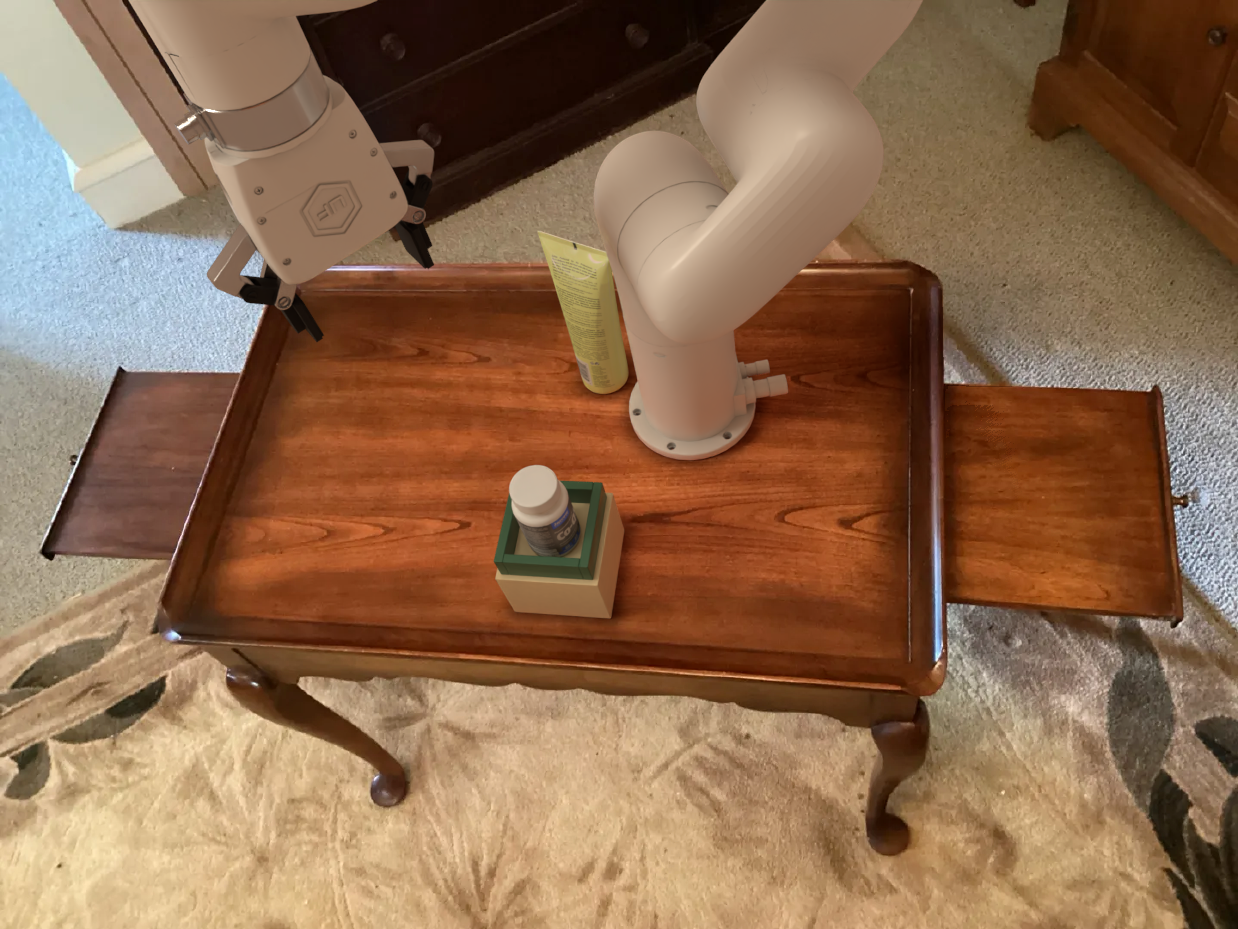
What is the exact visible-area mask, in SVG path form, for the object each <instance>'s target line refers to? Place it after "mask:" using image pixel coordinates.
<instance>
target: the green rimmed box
mask: <svg viewBox="0 0 1238 929" xmlns="http://www.w3.org/2000/svg"><path fill="white" fill-rule="evenodd" d="M558 480H559V481H560V482H561V483H562V484H563V485H564V486H565V488H566V490H567V492H568V494H569V497H570V500H571V503H572V505H573V508H574V511H575V514H576V516H577V519H578V521H579V524H580V528H581V534H580V538H579V541H578V543H577V544H576V546H575V547H574V549H573V550H571V551H570V552H569V553H567V554H566V555H564V556H561V557H548V556H540V555H538V554H536V553H535V552H534V551H533V550H532V549H531V547H530V546H529V544H528V542H527V540H526V538H525V536H524V534H523V532H522V530H521V528H520V526H519V524H518V522H517V520H516V518H515V516H514V514H513V510H512V499H511V496H510V493H509V492H508V496H507V501H506V503H505V510H504V514H503V518H502V523H501V527H500V531H499V536H498V540H497V545H496V549H495V553H494V557H493V564H494V565H495V567H496V574H495V578H494V579H495V581H496V583H497V585H498V586H499V589H500V590H501V591H502V593H503V594H504V596H505V598H506V599H507V601H508V603H509V605H510V606H511V608H512V609H513V611H514V613H526V614H527V613H528V614H540V615H552V616H553V615H554V616H569V617H584V618H598V619H612V615H613V609H614V602H615V594H616V590H617V589H616V588H617V583H618V582H617V581H618V576H619V569H620V563H621V556H622V549H623V543H624V536H625V527H624V524H623V521H622V518H621V515H620V511H619V508H618V505H617V502H616V498H615V496H614V493H613V492H606V490H605V486H604V484H603V482H600V481H583V480H582V481H580V480H560V479H558Z"/></svg>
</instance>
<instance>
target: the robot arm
mask: <svg viewBox="0 0 1238 929" xmlns="http://www.w3.org/2000/svg"><path fill="white" fill-rule="evenodd" d="M377 1H378V0H128V2H129V4H130V5H131V7H132V9H133V10H134V12H135V14H136V16H137V17H138V19H139V20H140V22H141V23H142V25H143V27H144V28H145V30H146V32H147V33H148V36H150V38H151V40H152V42H153V43H154V45H155V46H156V48H157V49H158V51H159V53H160V55H161V56H162V58H163V60H164V61H165V63H166V65H167V66H168V67H169V69H170V71H171V72H172V75H173V76H174V78H175V79H176V81H177V82H178V85H179V86H180V87H181V90H182V92H184V93H183V97H184V98H185V99H186V101H187V103H188V105H186V109H187V110H188V112H185V113H184V114H183V117H182V118H181V119H179V120H177V121H175V122H174V123H173V125H174V127H175V129H176V131H177V132H178V133H179V135H180V136H181V137H182V139H183V140H184V142H185V143H186V144H187V145H191V144H192V143H194V142H197V141H198V140H200V141H203V140H204V147H205V149H206V153H207V156H208V158H209V161H210V164H211V168H212V169H213V172H214V174H215V177H216V179H217V181H218V184H219V186H220V188H221V190H222V192H223V194H224V196H225V198H226V200H227V201H228V204H229V206H230V208H231V210H232V212H233V214H234V215H235V218H236V219H237V222H238V223H239V224H238V226H237V228H236V229H235V230H234V232H233V233H232V234H231V236H230V237H229V239H228V241H227V242H226V243H225V245H224V246H223V248H222V249H221V251H220V252H219V254H218V255H217V257H216V258H215V260H214V261H213V263H212V264H211V265H210V267H209V268H208V270H207V272H206V278H207V279H208V281H209V282H210V283H211V284H212V285H213V287H214V288H215V289H217V290H219V291H221V292H223V293H226V294H228V295H230V296H232V297H235V298H239V299H241V300H243V301H244V302H245V303H247V304H252V305H253V304H254V305H263V306H265V305H266V306H275V307H276V309H278V310H279V311H281V313H282V315H283V316H284V317H285V319H286V321H287V322H288V323H289V325H290V326H291V327H292V329H293V330H294V332H296V333H297V334H298V335H299V334H300V333H302V332H303V331H306V332H307V333H308V334H309V335H310V336H311V338H312V339H313V340H314V341H315V342H316V343H319V342H320V341H321V340H323V339H324V338H323V337H325V334H324V333H323V331H322V329H321V328H320V326H319V324H318V323H317V321H316V319H315V318H314V316H313V315H312V313H311V312H310V310H309V308H308V306H307V305H306V304H305V302H304V301H303V299H302V298H301V297H300V296H299V295H298V294H297V292H296V291H297V288H298V285H300V284H304V283H306V282H309V281H311V280H312V279H314V278H316V277H318V276H320V275H321V274H323V273H324V272H325V271H327V270H329V269H330V268H332V267H334V266H335V265H337V264H338V263H340V262H341V261H343V260H345V259H346V258H348V257H349V256H351V255H353V254H354V253H355V252H357V251H359V250H360V249H362V248H363V247H365V246H366V245H368V244H370V243H372V242H373V241H374V240H375V239H378V238H379V237H381V236H382V235H384V234H386V232H388V231H389V230H391V229H392V228H395V230H396V232H397V234H398V237H399V238H400V240H401V243H402V245H403V247H404V250H405V251H406V252H407V253H408V254H409V256H411V257H412V258H413V259H414V260H415V261H416V262H417V263H418V264H419V265H420V266H421V267H422V268H423V269H425V270H426V269H428V270H429V269H431V268H433V267H434V266H435V263H434V260H433V258H432V256H431V253H430V251H429V249H430V248H432V247H433V243H432V241H431V238H430V236H429V233H428V231H427V228H426V226H425V224H424V221H425V219H426V217H427V214H426V211H425V209H424V208H425V206H426V204H427V200H428V198H429V196H430V194H431V190H432V188H433V183H434V182H433V180H432V179H431V175H432V174H433V168H434V159H435V150H434V148H433V147H431V145H429V144H428V143H427V142H426V141H424V140H423V139H414V140H402V141H391V142H390V141H389V142H379V141H378V140H377V138H376V136H375V134H374V132H373V131H372V129H371V126H369V123H368V122H367V121H366V119H365V117H364V115H363V114H362V112H361V111H360V109H359V108H358V106H357V105H356V103H355V101H354V100H353V99H352V97H351V96H350V95H349V93H348V92H347V91H346V89H345V88H344V87H343V86H342V85H341V84H340V83H339V82H337V81H335V80H333V79H332V78H330V77H328V76H327V75H324V74H323V73H322V70H321V68H320V66H319V64H318V62H317V60H316V57H315V55H314V53H313V51H312V49H311V47H310V44H309V42H308V40H307V38H306V36H305V33H304V31H303V29H302V27H301V25H300V22H299V20H298V17H299V16H308V15H318V14H327V13H335V12H342V11H348V10H354V9H359V8H362V7H365V6H367V5H370V4H372V3H374V2H377ZM923 2H924V0H765V1H764V2H763V3H762V4H761V5H760V6H759V8H758V9H757V10H756V11H755V13H754V14H753V15H752V16H751V17H750V18H749V20H748V21H747V22H746V23H745V24H744V25H743V27H742V28H741V29H740V30H739V31H738V32H737V33H736V34H735V35H734V36H733V38H732V39H731V40H730V42H729V43H727V45H726V46H725V47H724V49H722V51H721V52H720V53H719V54H718V55H717V57H716V58H715V59H714V61H713V62H712V63H711V64H710V66H709V67H708V69H707V70H706V71H705V73H704V75H703V76H702V78H701V80H700V82H699V85H698V87H697V91H696V96H695V102H696V103H695V107H696V111H697V116H698V119H699V121H700V124H701V127H702V128H703V130H704V132H705V134H706V135H707V137H708V139H709V140H710V142H711V144H712V146H713V147H714V149H715V150H716V152H717V153H718V155H719V157H720V158H721V160H722V161H723V163H724V164H725V166H726V168H727V169H728V171H729V172H730V174H731V175H732V177H733V179H734V181H735V182H736V184H735V185H734V187H733V188H732V189H731V191H730V192H729V191H728V190H727V188H726V187H725V185H724V183H723V182H722V180H721V179H720V177H719V175H718V173H717V172H716V171H715V170H714V168H713V166H712V164H710V162H709V161H708V160H707V159H706V158H707V157H705V155H703V153H702V152H701V151H700V150H699V149H698V148H696V147H695V145H693V144H692V143H691V142H689V140H687V139H685V138H684V137H682V136H679V135H677V134H675V133H672V132H668V131H663V130H647V131H641V132H638V133H634V134H632V135H630V136H628V137H626V138H624V139H623V140H621V141H620V142H619V143H618V144H616V145H615V146H614V147H613V148H612V149H611V150H610V151H609V152H608V153H607V154H606V156H605V158H604V159H603V160H602V163H601V165H600V166H599V168H598V171H597V174H596V177H595V182H594V185H593V186H594V187H593V196H592V197H593V211H594V216H595V220H596V224H597V225H596V226H597V228H598V231H599V234H600V238H601V241H602V244H603V247H604V251H606V253H607V256H608V259H609V263H610V266H611V269H612V275H613V280H614V283H615V287H616V291H617V294H618V299H619V303H620V308H621V312H622V317H623V322H624V326H625V330H626V335H627V340H628V344H629V349H630V353H631V357H632V362H633V366H634V370H635V375H636V379H637V381H636V382H635V385H634V387H633V388H632V390H631V393H630V397H629V401H628V413H629V419H630V424H631V426H632V429H633V431H634V433H635V434H636V436H637V437H638V439H639V440H640V442H642V443H643V444H644V445H645V447H647V448H648V449H650V450H652V451H653V452H654V453H657V454H658V455H661V456H664V457H666V458H669V459H674V460H684V461H694V460H696V461H697V460H703V459H708V458H710V457H711V458H712V457H715V456H718V455H719V454H721V453H723V452H726V451H727V450H729V449H731V448H732V447H734V446H735V445H736V444H737V443H738V442H739V441H740V440H741V439H743V437H744V436H745V435H746V433H747V432H748V431H749V429H750V427H751V425H752V423H753V421H754V418H755V413H756V403H757V399H760V398H766V397H770V398H771V397H776V396H781V395H786V394H789V387H788V380H787V376H786V374H785V373H783V374H777V375H772V376H766V377H765V378H761V379H756V380H753V376H762V375H767V374H770V373H771V369H770V363H769V359H767V358H766V359H761V360H757V361H754V362H750V363H745V362H744V361H740V362H739V361H738V356H737V352H736V343H735V330H736V329H738V328H739V327H741V326H742V325H744V324H745V323H747V321H748V320H749V319H751V318H752V317H754V316H755V315H756V314H757V313H758V312H759V311H760V310H761V309H762V308H764V306H765V305H767V304H768V303H769V302H770V301H772V299H773V298H774V297H775V296H776V295H777V294H778V293H779V292H781V290H783V289H784V287H786V286H787V285H788V284H789V283H790V282H791V281H792V280H793V279H794V278H795V277H796V276H797V275H798V274H799V273H800V272H801V271H803V270H804V268H806V267H807V266H808V265H809V264H810V263H811V262H812V261H813V260H814V259H815V258H816V257H817V256H818V255H819V254H821V253H822V252H823V251H824V250H825V249H826V248H827V247H828V246H829V245H830V244H831V243H832V242H833V241H834V240H835V239H836V238H837V237H838V236H840V234H842V233H843V231H844V230H846V228H848V226H850V224H852V223H853V221H854V220H855V219H856V218H857V217H858V216H859V214H860V213H861V212H862V211H863V210H864V208H865V207H866V204H867V203H868V202H869V200H870V199H871V197H872V195H873V193H874V191H875V189H876V187H877V185H878V183H879V180H880V177H881V175H882V174H881V173H882V171H883V166H884V157H885V150H884V141H883V138H882V134H881V132H880V129H879V127H878V125H877V123H876V121H875V120H874V118H873V117H872V115H871V114H870V112H869V111H868V109H866V107H865V106H864V105H863V103H862V102H861V100H859V98H858V97H857V96H856V95H855V94H854V91H855V90H856V88H857V87H858V85H859V84H860V83H861V82H862V80H863V79H864V78H865V77H866V75H867V74H868V73H869V72H870V71H871V70H872V69H873V68H874V67H875V65H876V64H877V63H878V62H879V61H880V60H881V59H882V57H884V56H885V55H886V53H887V52H888V51H889V49H890V48H891V47H892V46H893V45H894V44H895V43H896V42H897V41H898V39H899V38H900V37H901V36H902V35H903V34H904V32H905V31H906V30H907V28H908V27H909V25H910V24H911V22H912V21H913V19H914V18H915V16H916V15H917V13H918V11H919V10H920V7H921V5H922V4H923ZM400 167H401V168H402V167H408V170H407V172H406V174H405V176H404V179H403V181H402V184H401V183H400V180H399V179H398V177H397V175H396V173H395V171H394V169H393V168H400ZM256 252H257V253H258V254H260V256H261V257H262V259H263V261H262V266H261V269H260V270H261V271H260V273H259V274H260V275H259V276H253V275H245V274H242V275H241V273H242V271H243V270H244V269H245V267H246V266H247V264H248V263H249V261H250V260H251V258H252V257H253V256H254V254H255V253H256Z"/></svg>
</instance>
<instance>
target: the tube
mask: <svg viewBox="0 0 1238 929" xmlns="http://www.w3.org/2000/svg"><path fill="white" fill-rule="evenodd" d="M537 235H538V238H539V242H540V244H541V247H542V250H543V253H544V256H545V258H546V263H547V265H548V266H547V267H548V269H549V272H550V275H551V279H552V281H553V284H554V287H555V291H556V294H557V298H558V301H559V304H560V308H561V311H562V315H563V318H564V322H565V324H566V328H567V331H568V336H569V338H570V341H571V345H572V348H573V352H574V355H575V358H576V363H577V366H578V370H579V373H580V377H581V380H582V383H583V385H584V386H585V388H587V389H588V390H589V391H591V392H593V393H595V394H598V395H599V394H600V395H606V394H611V393H615V392H616V391H617V392H618V391H619V390H620V389H622V387H624V386H625V385H626V383H627V381H628V379H629V376H630V374H629V366H628V360H627V355H626V349H625V345H624V344H625V343H624V338H623V334H622V328H621V323H620V317H619V316H620V315H619V311H618V305H617V297H616V291H615V284H614V283H615V282H614V276H613V272H612V269H611V266H610V263H609V259H608V256H607V253H606V250H602V249H599V248H597V247H593V246H589V245H587V244H583V243H580V242H577V241H573V240H570V239H568V238H563V237H561V236H557V235H556V234H555V235H554V234H552V233H548V232H545V231H542V230H537Z"/></svg>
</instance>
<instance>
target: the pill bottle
mask: <svg viewBox="0 0 1238 929" xmlns="http://www.w3.org/2000/svg"><path fill="white" fill-rule="evenodd" d="M559 480H560V479H558V477H557V474H556V473H555V472H554V470H552V469H551V468H550V467H548V466H545V465H542V464H533V465H527V466H525V467H523V468H521V469H520V470H518V471H517V472H516V473H515V474H514V475H513V476H512V479H511V480H510V482H509V487H508V494H509V493H510V496H511V499H512V510H513V514H514V516H515V518H516V520H517V522H518V524H519V526H520V528H521V530H522V532H523V534H524V536H525V538H526V540H527V542H528V544H529V546H530V547H531V549H532V550H533V551H534V552H535V553H536V554H538V555H540V556H548V557H561V556H564V555H566V554H567V553H569V552H570V551H571V550H573V549H574V547H575V546H576V544H577V543H578V541H579V538H580V534H581V528H580V524H579V521H578V519H577V516H576V514H575V511H574V508H573V505H572V503H571V500H570V497H569V494H568V492H567V490H566V488H565V486H564V485H563V484H562V483H561V482H560V481H559Z"/></svg>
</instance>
